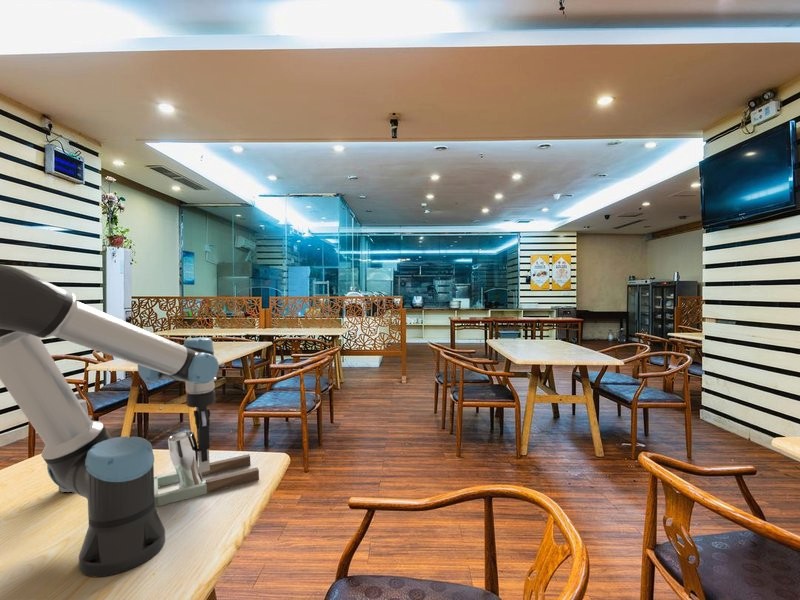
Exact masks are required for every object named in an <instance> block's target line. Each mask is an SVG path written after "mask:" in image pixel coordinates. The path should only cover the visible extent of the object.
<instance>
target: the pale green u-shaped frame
mask: <svg viewBox="0 0 800 600" xmlns="http://www.w3.org/2000/svg"><path fill="white" fill-rule="evenodd" d="M198 468H199V466H198ZM199 473H200V472H199ZM200 475H201V477H202V473H200ZM175 483H179V478H178V474H177V472H176V471H175V472H172V473H171V472H170V473H167V474H163V475H157V476H154V501H155V508H157V507H160V506H163V505H168V504H171V503H176V502H178V501H183V500H186V499H191V498H196V497H198V496H202V495H205V494H207V495H208V493H207V484H206V481H205V482H202V483H201V484H197V485H193V486H189V487H185V488H181V489H179V488H177V489H175V490H173V489H172V490H170V491H165V492H161V493H159V488H160V487H164V486H167V485H172V484H175Z"/></svg>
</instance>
